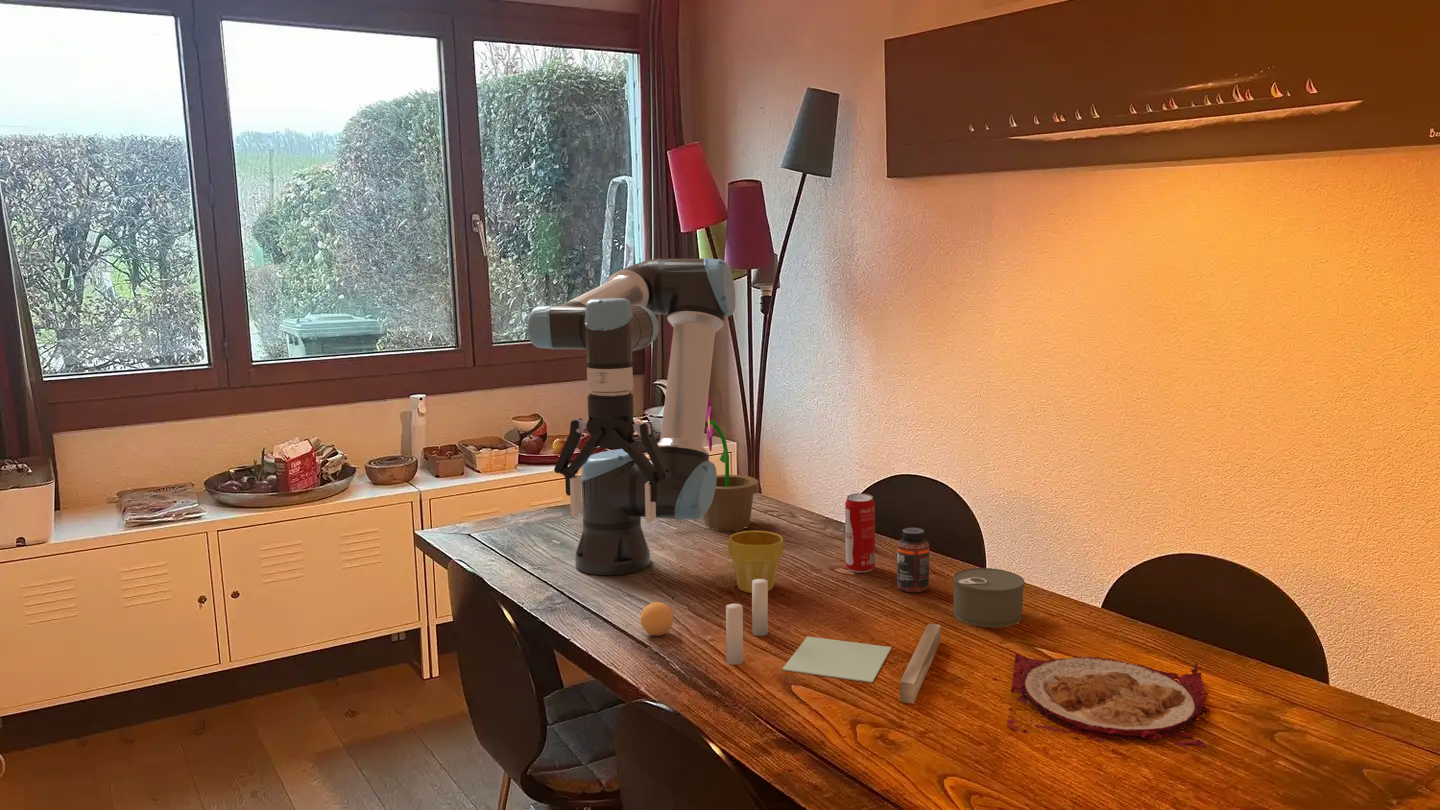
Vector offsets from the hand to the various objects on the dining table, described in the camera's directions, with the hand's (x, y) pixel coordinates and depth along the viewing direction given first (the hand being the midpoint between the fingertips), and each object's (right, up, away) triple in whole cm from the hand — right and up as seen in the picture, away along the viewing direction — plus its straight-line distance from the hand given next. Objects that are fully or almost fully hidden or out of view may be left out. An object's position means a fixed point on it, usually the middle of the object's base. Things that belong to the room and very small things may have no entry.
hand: (613, 517), depth 177 cm
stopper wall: (+49, -22, -16) cm, 56 cm away
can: (+65, -18, +6) cm, 67 cm away
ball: (+7, -17, -1) cm, 18 cm away
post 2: (+25, -19, -1) cm, 31 cm away
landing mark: (+36, -21, -12) cm, 44 cm away
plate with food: (+73, -24, -28) cm, 82 cm away
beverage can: (+46, -14, +32) cm, 58 cm away
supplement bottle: (+54, -16, +21) cm, 60 cm away
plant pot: (+25, -16, +22) cm, 37 cm away
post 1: (+20, -21, -12) cm, 32 cm away
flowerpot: (+20, -9, +65) cm, 69 cm away
